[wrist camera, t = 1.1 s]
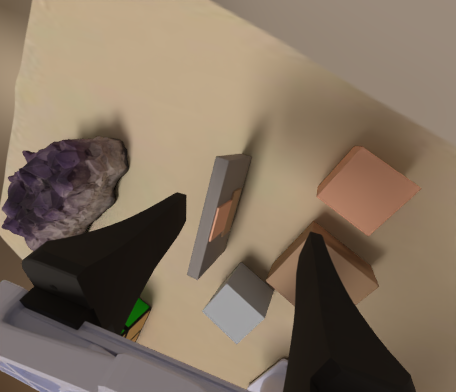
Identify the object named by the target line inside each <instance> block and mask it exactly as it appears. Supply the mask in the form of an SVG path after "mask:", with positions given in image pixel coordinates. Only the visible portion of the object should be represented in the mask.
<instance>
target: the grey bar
mask: <svg viewBox="0 0 456 392" xmlns="http://www.w3.org/2000/svg"><path fill="white" fill-rule="evenodd" d="M251 158H252V157H251V156H247V155H244V154H234V155H225V156H216V159H215V163H214V167H213V171H212V175H211V179H210V183H209V187H208V191H207V195H206V199H205V203H204V207H203V211H202V216H201V220H200V224H199V228H198V232H197V236H196V240H195V244H194V248H193V252H192V256H191V260H190V264H189V268H188V272H187V275H188V276H190V277H192V278H194V279H196V280H198V279H199V278H200V277H201V276H202V275H203V274H204V272H205V271H206V270H207V269H208V268H209V267H210V266H211V265H212V264H213V263H214V262H215V261H216V259H217V258H218V257H219V256H220V255H221V254H222V253H223V252H224V250H225V247H226V244H227V240H228V237H229V233H230V230H231V226H232V223H233V220H234V216H235V213H236V209H237V206H238V202H239V199H240V196H241V192H242V189H243V185H244V182H245V178H246V175H247V172H248V168H249V165H250V161H251Z"/></svg>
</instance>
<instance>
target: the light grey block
mask: <svg viewBox="0 0 456 392" xmlns="http://www.w3.org/2000/svg"><path fill="white" fill-rule="evenodd" d="M273 292H274V290H272V289H271V288H270V287H269V286H268V285H267V284H266V283H264V282H263V281H262V280H261V279H260V278H259V277H258V276H257V275H255V274H254V273H253V272H252V271H251V270H250V269H249V268H247V267H246V266H245V265H244V264H243V263H242V262H241V263H240V264H239V265H238V266H237V268H236V269H235V270H234V271H233V272H232V273H231V274H230V276H229V277H228V278H227V279H226V280H225V281H224V282H223V284H222V285H221V286H220V287H219V288H218V290H217V291H216V293H215V294H214V295H213V297H212V298H211V300H210V301H209V302H208V304H207V305H206V307H205V308H204V309H203V311H202V312H203V313H204V314H205V315H206V316H208V317H209V318H210V319H211V320H212V321H213V322H214V323H215V324H216V325H217V326H218V327H219V328H220V329H221V330H222V331H223V332H224V333H225V334H226V335H227V336H228V337H229V338H231V339H232V340H233V341H234V342H235V343H236V344H238V343H239V342H240V341H241V340H242V339H243V338H244V337H245V336H246V335H247V334H248V333H249V332H250V331H251V330H253V329H254V328H255V327H256V326H257V325H258V324H259V323H260V322H261V321H262V320H263V319H264V318H265V316H266V313H267V310H268V307H269V304H270V301H271V298H272V295H273Z"/></svg>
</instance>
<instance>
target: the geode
mask: <svg viewBox="0 0 456 392" xmlns="http://www.w3.org/2000/svg"><path fill="white" fill-rule="evenodd" d="M23 155H24V157H25V159H26V161H27V164H26V165H25V166H24V167H23V168H20V169H19V171H17V172H15V174H14V175H13V176H9V177H8V179H9V181H10V182H12V183H11V184H10V186H9V188H8V199H7V201H6V202H5V204H4V206H3V207H2V210H3V211H4V212H5V214H6V215H7V218H6V219H5V221H4V224H3V225H2V228H3V229H7V230H10V231H11V232H12V233H13V234H17V235H20V236H22V237H24V238H25V241H26V243H27V246H28V247H29V248H30V249H31V250H33V251H35V250H36V249H37V248H39V247H40V246H41V245H42V244H44V243H45V242H46V241H50V240H55V239H61V238H66V237H71V236H75V235H79V234H84V233H85V231H86V230H87V228H88V226H89V224H90V223H92V222H94V221H95V220H97V219H98V218H99V216H100V215H101V214H103V213H104V212H105V211H106V210H107V209H109V208H110V207H111V206H112V205H113V204H114V201H115V196H114V192H113V190H114V187H115V185H116V183H117V181H118V179H120V178H121V177H122V176H123V175H124V174H125V173H126V172H127V171H128V169H129V165H128V160H127V149H126V148H125V147H124V144H123V142H122V141H121V140H118V139H114V138H112V139H109V138H107V137H104V138H102V137H100V136H97V137H95V139H72V140H70V139H68V140H62V141H59V142H53V143H51V144H50V145H49V146H47V147H46V148H45V149H41V150H39V151H38V152H37V153H34V152H30V151H23Z"/></svg>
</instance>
